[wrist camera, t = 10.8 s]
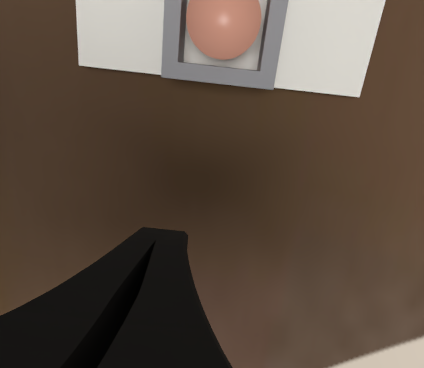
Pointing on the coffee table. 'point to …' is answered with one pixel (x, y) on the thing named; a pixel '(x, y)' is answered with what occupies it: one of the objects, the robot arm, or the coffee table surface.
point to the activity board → (246, 62)
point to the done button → (223, 26)
